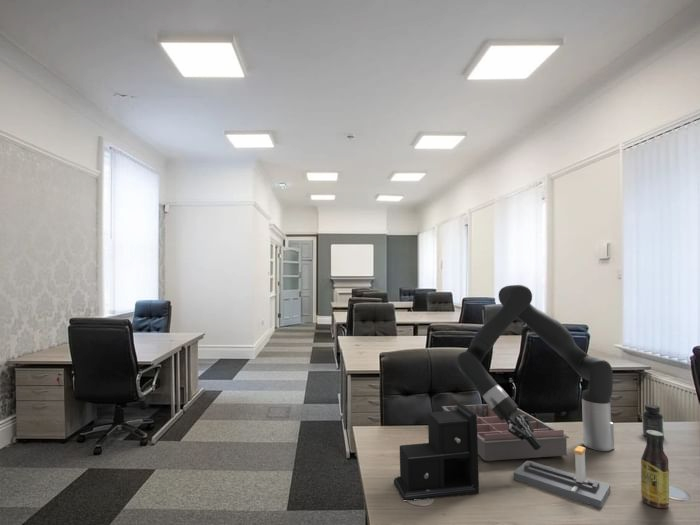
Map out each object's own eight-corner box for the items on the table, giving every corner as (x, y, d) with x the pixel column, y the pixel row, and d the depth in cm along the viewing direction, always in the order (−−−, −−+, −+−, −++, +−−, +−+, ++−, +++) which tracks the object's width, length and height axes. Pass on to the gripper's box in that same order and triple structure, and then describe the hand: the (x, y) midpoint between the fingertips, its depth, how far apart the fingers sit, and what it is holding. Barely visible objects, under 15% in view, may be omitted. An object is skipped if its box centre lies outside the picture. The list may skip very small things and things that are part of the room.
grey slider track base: (513, 478, 126) (513, 467, 126) (527, 466, 135) (527, 455, 135) (601, 508, 110) (600, 495, 110) (610, 491, 118) (610, 479, 118)
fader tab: (572, 484, 118) (571, 449, 119) (576, 479, 121) (575, 444, 122) (585, 488, 116) (584, 452, 116) (589, 483, 119) (588, 448, 119)
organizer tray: (509, 421, 179) (509, 398, 180) (570, 460, 140) (569, 431, 140) (441, 424, 175) (441, 401, 175) (484, 466, 135) (483, 436, 136)
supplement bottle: (668, 438, 158) (667, 408, 159) (654, 440, 156) (653, 409, 157) (652, 432, 165) (650, 403, 165) (638, 433, 163) (637, 404, 164)
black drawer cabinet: (403, 502, 113) (402, 418, 114) (393, 483, 124) (392, 406, 125) (480, 495, 117) (478, 413, 118) (463, 477, 127) (462, 402, 129)
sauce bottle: (636, 498, 115) (633, 427, 116) (656, 497, 115) (653, 427, 116) (655, 511, 108) (652, 436, 109) (676, 509, 109) (673, 435, 110)
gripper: (499, 400, 129) (540, 448, 120) (514, 391, 139) (554, 435, 130) (484, 413, 133) (523, 461, 124) (500, 403, 142) (537, 448, 133)
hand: (538, 448), depth 127 cm, fingers closed
